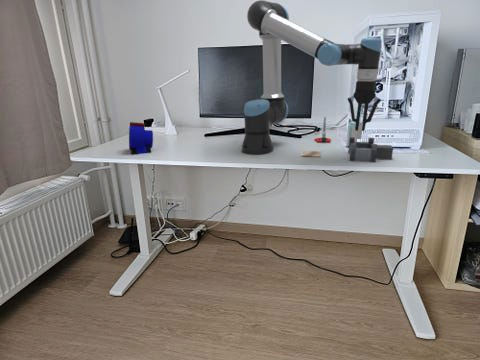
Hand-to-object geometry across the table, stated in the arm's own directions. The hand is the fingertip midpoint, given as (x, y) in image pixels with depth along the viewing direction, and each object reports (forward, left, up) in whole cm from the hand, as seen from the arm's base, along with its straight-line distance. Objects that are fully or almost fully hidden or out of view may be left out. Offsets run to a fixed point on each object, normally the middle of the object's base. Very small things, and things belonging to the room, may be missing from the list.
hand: (358, 138), depth 134 cm
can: (0, +17, -8) cm, 19 cm away
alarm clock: (-103, -5, -8) cm, 104 cm away
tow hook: (-15, +28, -9) cm, 33 cm away
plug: (+10, 0, -8) cm, 13 cm away
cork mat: (-19, 0, -8) cm, 21 cm away
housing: (+2, 0, -8) cm, 8 cm away
